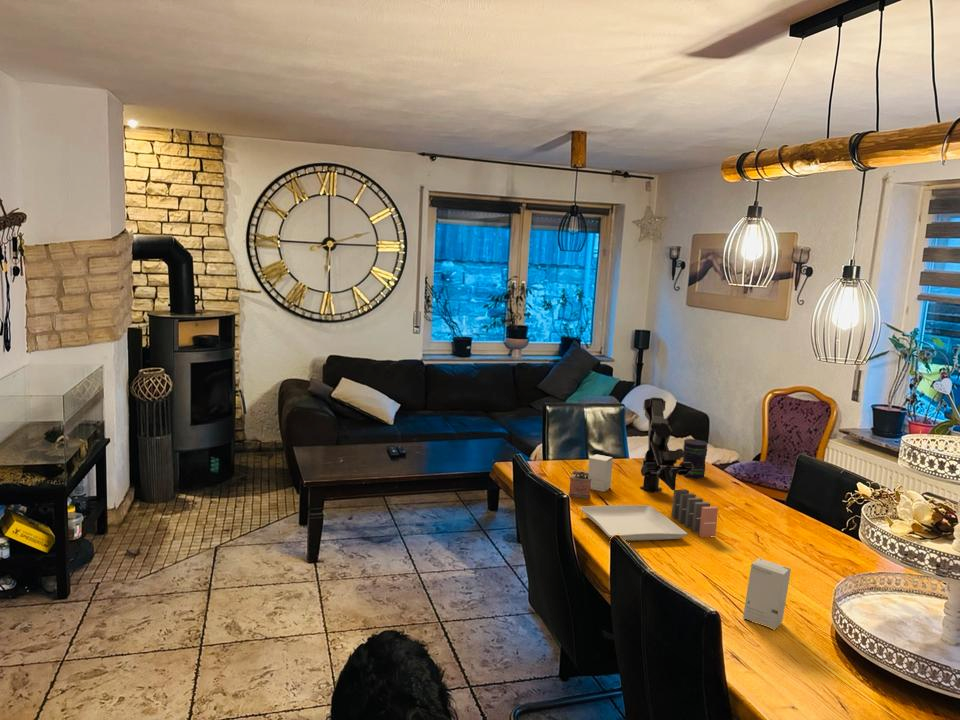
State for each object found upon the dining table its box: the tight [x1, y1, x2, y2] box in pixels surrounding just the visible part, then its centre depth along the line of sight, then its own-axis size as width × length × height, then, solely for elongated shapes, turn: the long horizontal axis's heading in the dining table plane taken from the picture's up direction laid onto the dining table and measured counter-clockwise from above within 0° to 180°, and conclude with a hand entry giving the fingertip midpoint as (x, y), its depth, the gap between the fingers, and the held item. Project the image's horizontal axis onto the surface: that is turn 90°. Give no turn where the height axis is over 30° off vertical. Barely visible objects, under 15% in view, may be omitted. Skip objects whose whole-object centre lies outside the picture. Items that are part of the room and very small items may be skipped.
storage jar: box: [681, 438, 708, 480], centre depth 303 cm, size 10×10×15 cm
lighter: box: [568, 470, 592, 499], centre depth 266 cm, size 8×3×10 cm, turn 84°
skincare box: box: [742, 557, 792, 630], centre depth 175 cm, size 8×6×15 cm
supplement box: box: [587, 453, 614, 493], centre depth 278 cm, size 7×7×13 cm
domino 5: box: [698, 506, 719, 538], centre depth 232 cm, size 2×5×10 cm, turn 104°
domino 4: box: [691, 501, 711, 533], centre depth 236 cm, size 2×5×10 cm, turn 104°
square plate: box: [579, 504, 688, 542], centre depth 236 cm, size 27×27×4 cm
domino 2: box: [677, 492, 697, 524], centre depth 245 cm, size 2×5×10 cm, turn 105°
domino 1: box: [671, 488, 690, 519], centre depth 249 cm, size 2×5×10 cm, turn 104°
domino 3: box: [684, 497, 704, 529], centre depth 240 cm, size 2×5×10 cm, turn 104°
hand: (673, 489), depth 253 cm, fingers closed
